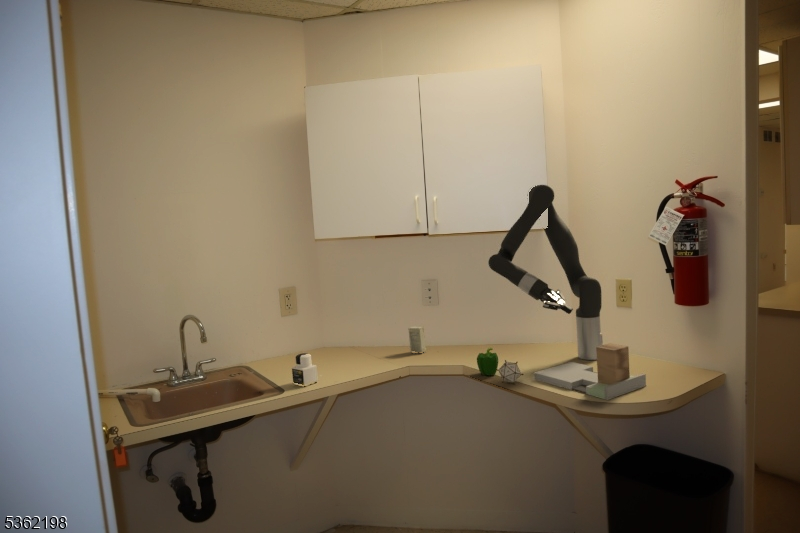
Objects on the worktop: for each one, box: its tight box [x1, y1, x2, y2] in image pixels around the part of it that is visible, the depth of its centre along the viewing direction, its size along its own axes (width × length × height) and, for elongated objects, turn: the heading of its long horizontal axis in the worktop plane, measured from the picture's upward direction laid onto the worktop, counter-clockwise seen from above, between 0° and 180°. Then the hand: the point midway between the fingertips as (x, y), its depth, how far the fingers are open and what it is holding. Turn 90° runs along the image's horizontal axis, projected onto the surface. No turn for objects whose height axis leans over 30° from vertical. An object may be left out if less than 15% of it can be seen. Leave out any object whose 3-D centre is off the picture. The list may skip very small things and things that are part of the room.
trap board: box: [533, 361, 647, 401], centre depth 180 cm, size 20×31×4 cm, turn 31°
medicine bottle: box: [291, 352, 319, 385], centre depth 204 cm, size 7×7×12 cm
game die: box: [496, 359, 524, 386], centre depth 186 cm, size 9×8×10 cm
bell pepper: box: [476, 347, 499, 376], centre depth 199 cm, size 8×8×10 cm
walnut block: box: [596, 342, 631, 385], centre depth 170 cm, size 7×7×12 cm
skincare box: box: [407, 326, 427, 352], centre depth 241 cm, size 6×4×12 cm
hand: (571, 311), depth 195 cm, fingers closed
